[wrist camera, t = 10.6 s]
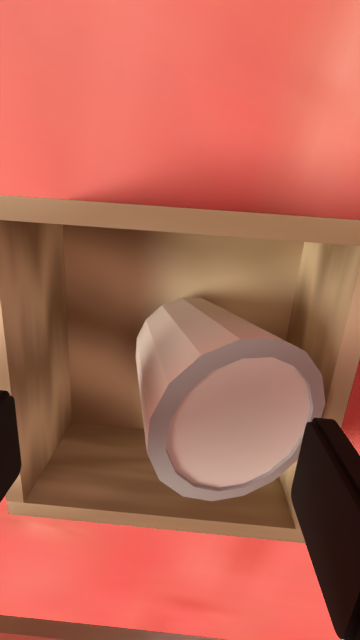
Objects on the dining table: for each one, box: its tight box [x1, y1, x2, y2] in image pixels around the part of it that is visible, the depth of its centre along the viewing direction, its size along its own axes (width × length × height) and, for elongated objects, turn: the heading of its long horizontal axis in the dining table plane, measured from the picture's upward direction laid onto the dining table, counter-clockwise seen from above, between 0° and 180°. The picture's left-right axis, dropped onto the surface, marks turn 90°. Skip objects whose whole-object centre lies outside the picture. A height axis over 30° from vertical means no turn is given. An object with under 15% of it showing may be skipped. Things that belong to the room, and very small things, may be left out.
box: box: [0, 195, 360, 543], centre depth 16 cm, size 14×14×7 cm
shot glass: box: [136, 298, 325, 501], centre depth 14 cm, size 7×7×7 cm
